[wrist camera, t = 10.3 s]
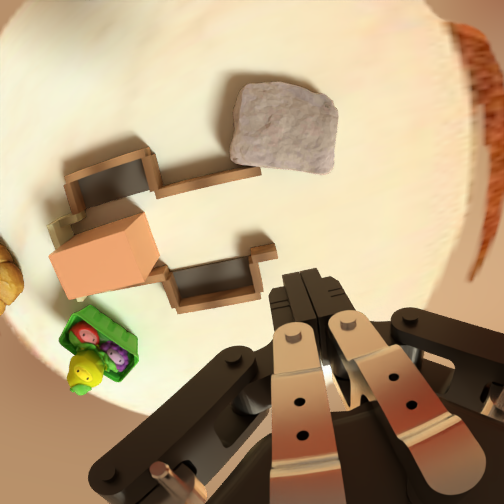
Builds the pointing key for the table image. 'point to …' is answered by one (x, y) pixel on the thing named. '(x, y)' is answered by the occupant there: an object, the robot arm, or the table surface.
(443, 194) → the table surface
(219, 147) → the table surface
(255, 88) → the stone block
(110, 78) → the table surface
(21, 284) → the bread roll
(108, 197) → the box
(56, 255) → the terracotta brick
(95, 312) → the fruit basket
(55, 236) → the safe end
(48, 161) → the table surface
